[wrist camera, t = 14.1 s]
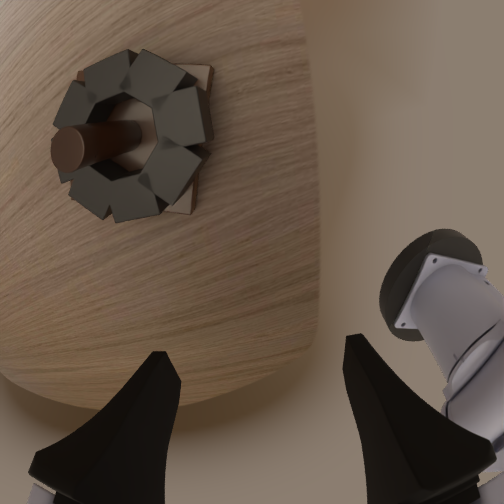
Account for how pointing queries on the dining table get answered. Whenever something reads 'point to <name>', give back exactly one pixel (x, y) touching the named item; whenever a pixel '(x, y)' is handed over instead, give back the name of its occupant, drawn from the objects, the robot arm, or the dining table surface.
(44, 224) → the dining table surface
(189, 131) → the ring
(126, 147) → the peg stand
